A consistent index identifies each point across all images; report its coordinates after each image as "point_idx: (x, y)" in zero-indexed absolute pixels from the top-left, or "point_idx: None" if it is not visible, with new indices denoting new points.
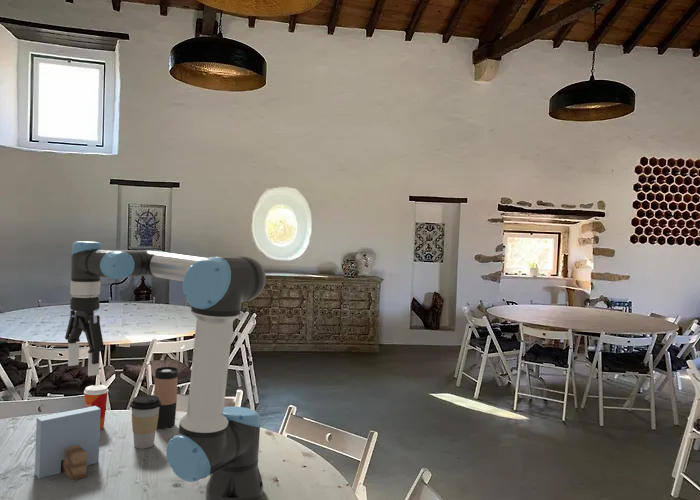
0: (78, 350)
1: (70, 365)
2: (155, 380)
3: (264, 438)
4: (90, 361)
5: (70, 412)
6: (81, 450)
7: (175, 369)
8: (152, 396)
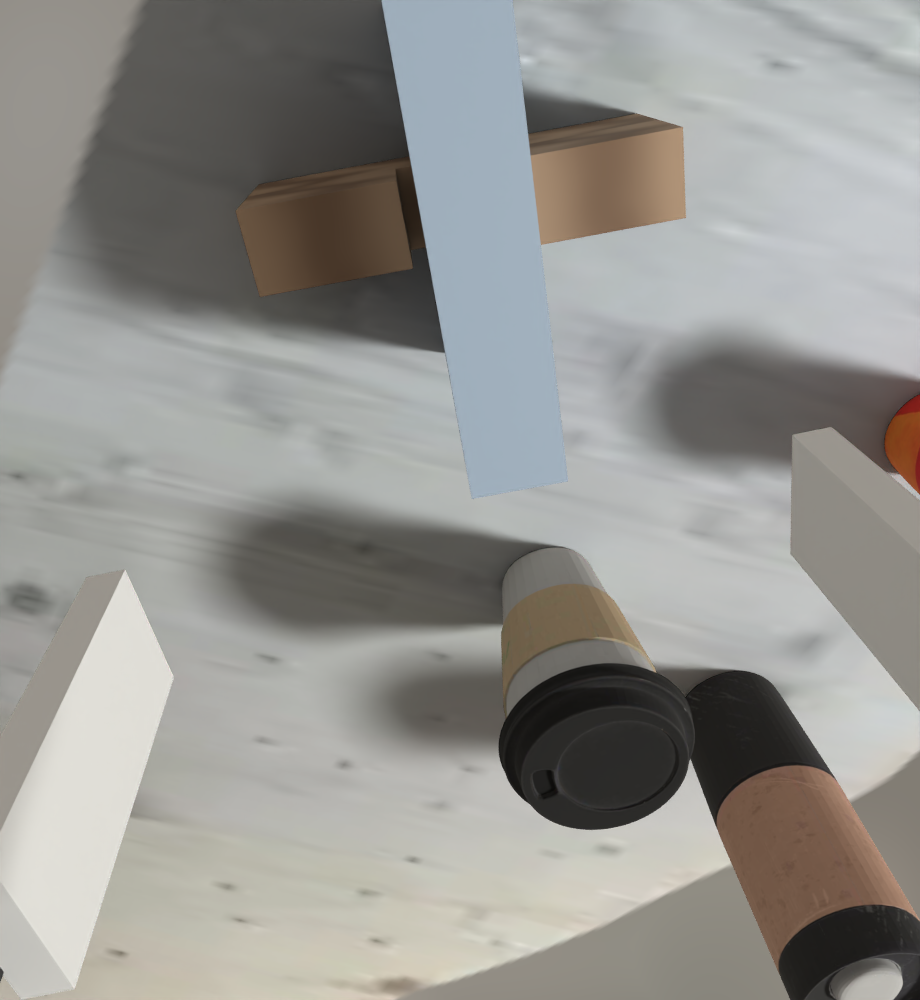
0: (907, 687)
1: (796, 456)
2: (859, 886)
3: (355, 961)
4: (14, 740)
5: (499, 277)
6: (310, 270)
7: None
8: (630, 807)
